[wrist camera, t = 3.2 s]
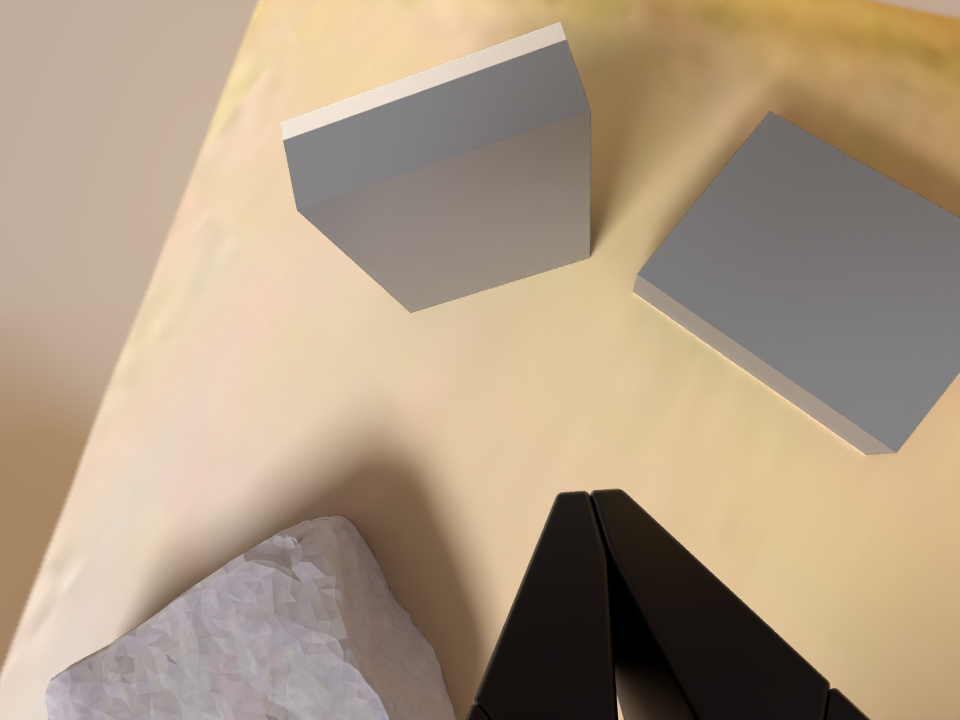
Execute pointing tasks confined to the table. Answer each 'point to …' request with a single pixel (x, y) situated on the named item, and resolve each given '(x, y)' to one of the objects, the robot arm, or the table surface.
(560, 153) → the tile
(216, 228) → the table surface
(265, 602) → the stone block
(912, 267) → the twin tile
